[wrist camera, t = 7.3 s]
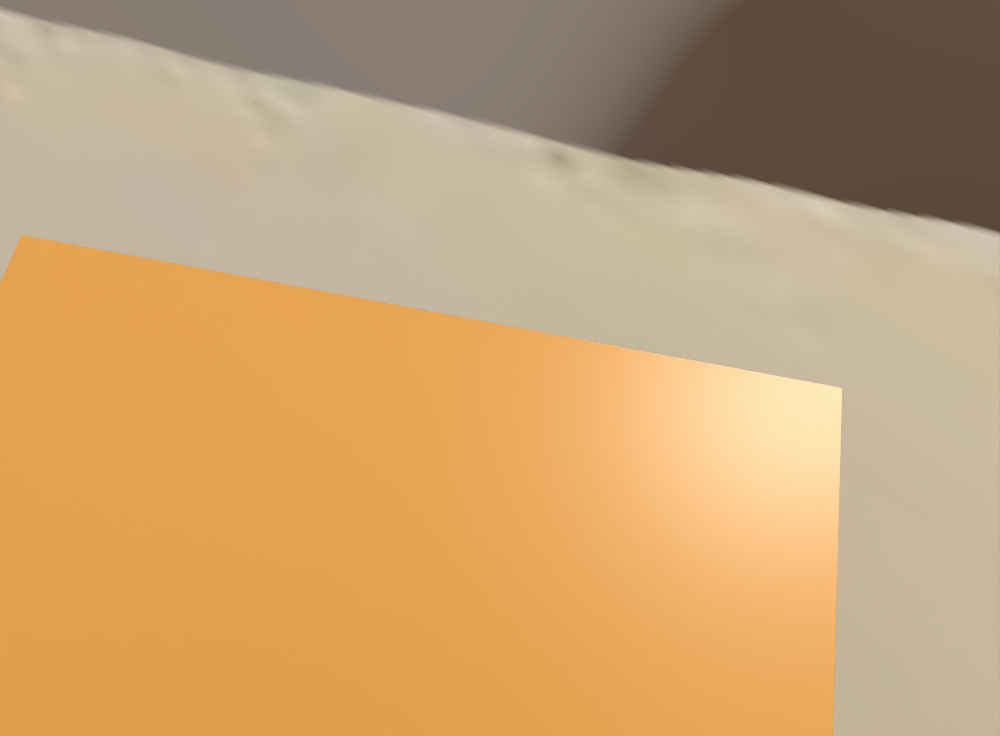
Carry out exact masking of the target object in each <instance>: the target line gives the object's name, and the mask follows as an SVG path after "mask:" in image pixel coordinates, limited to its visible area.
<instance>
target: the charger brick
mask: <svg viewBox="0 0 1000 736" xmlns="http://www.w3.org/2000/svg"><path fill="white" fill-rule="evenodd" d="M841 403H842V388H839V387H833V386H828V385H823V384H817V383H812V382H807V381H801V380H796V379H790V378H785V377H780V376H774V375H769V374H764V373H758V372H753V371H748V370H742V369H737V368H731V367H726V366H721V365H715V364H710V363H705V362H699V361H694V360H689V359H683V358H678V357H673V356H667V355H662V354H656V353H651V352H646V351H640V350H635V349H630V348H624V347H619V346H614V345H608V344H603V343H597V342H592V341H587V340H581V339H576V338H571V337H565V336H560V335H555V334H549V333H544V332H539V331H533V330H528V329H522V328H517V327H512V326H506V325H501V324H496V323H490V322H485V321H480V320H474V319H469V318H463V317H458V316H453V315H447V314H442V313H437V312H431V311H426V310H421V309H415V308H410V307H405V306H399V305H394V304H388V303H383V302H378V301H372V300H367V299H362V298H356V297H351V296H346V295H340V294H335V293H329V292H324V291H319V290H313V289H308V288H303V287H297V286H292V285H287V284H281V283H276V282H271V281H265V280H260V279H254V278H249V277H244V276H238V275H233V274H228V273H222V272H217V271H212V270H206V269H201V268H195V267H190V266H185V265H179V264H174V263H169V262H163V261H158V260H153V259H147V258H142V257H137V256H131V255H126V254H120V253H115V252H110V251H104V250H99V249H94V248H88V247H83V246H78V245H72V244H67V243H62V242H56V241H51V240H45V239H40V238H35V237H29V236H24V235H21V237H20V239H19V241H18V244H17V246H16V248H15V251H14V253H13V255H12V258H11V260H10V262H9V264H8V267H7V269H6V271H5V274H4V276H3V278H2V281H1V283H0V736H833V711H834V673H835V634H836V596H837V557H838V519H839V480H840V442H841Z"/></svg>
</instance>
